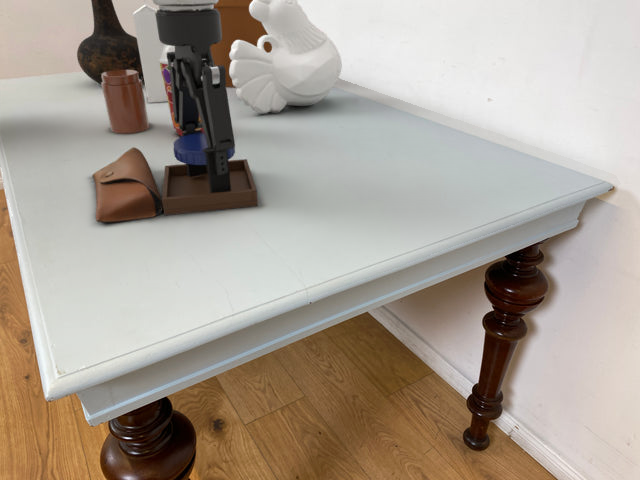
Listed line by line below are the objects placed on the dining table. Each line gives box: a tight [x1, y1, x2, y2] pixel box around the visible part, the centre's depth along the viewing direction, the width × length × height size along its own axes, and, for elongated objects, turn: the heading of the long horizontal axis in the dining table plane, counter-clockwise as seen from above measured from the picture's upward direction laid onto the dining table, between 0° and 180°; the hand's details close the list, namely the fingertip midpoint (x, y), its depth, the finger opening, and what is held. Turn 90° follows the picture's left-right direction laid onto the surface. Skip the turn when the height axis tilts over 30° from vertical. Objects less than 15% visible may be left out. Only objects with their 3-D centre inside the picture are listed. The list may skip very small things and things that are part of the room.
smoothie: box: [159, 45, 204, 137], centre depth 88 cm, size 8×8×20 cm
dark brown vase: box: [76, 0, 144, 85], centre depth 125 cm, size 18×18×28 cm
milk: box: [132, 0, 168, 104], centre depth 110 cm, size 6×6×22 cm
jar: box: [100, 70, 150, 135], centre depth 93 cm, size 7×7×11 cm
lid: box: [173, 133, 236, 165], centre depth 66 cm, size 8×8×2 cm
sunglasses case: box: [91, 147, 164, 223], centre depth 68 cm, size 18×7×7 cm
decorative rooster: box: [229, 0, 343, 115], centre depth 105 cm, size 25×16×25 cm
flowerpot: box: [210, 0, 272, 88], centre depth 129 cm, size 28×28×24 cm
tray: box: [161, 158, 259, 216], centre depth 68 cm, size 12×12×2 cm
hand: (208, 184), depth 68 cm, fingers closed on lid, 8 cm apart
